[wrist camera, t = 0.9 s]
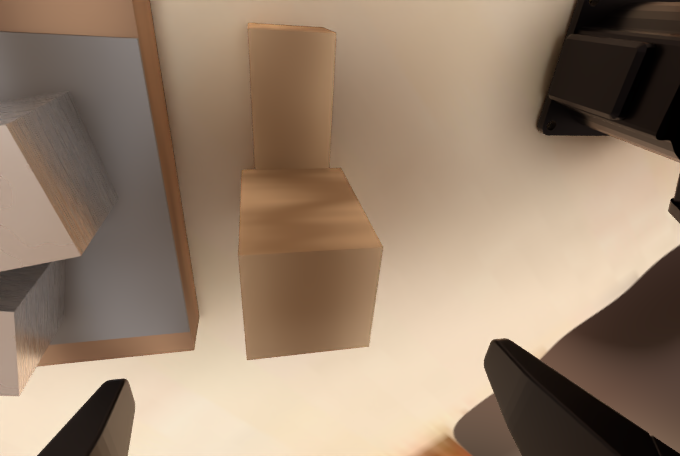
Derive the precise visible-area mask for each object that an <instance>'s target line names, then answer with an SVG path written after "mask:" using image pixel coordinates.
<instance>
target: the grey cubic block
mask: <svg viewBox="0 0 680 456" xmlns="http://www.w3.org/2000/svg"><path fill="white" fill-rule="evenodd" d="M64 298H65V259H63V260H58V261H53V262H48V263H42V264H37V265H32V266H27V267H22V268H16V269H11V270H6V271H1V272H0V396H20V394H21V392H22V391H23V389H24V387H25V386H26V384H27V382H28V380H29V379H30V377H31V375H32V373H33V372H34V370H35V368H36V366H37V365H38V363H39V361H40V359H41V358H42V356H43V354H44V352H45V351H46V349H47V347H48V345H49V344H50V342H51V340H52V338H53V337H54V335H55V333H56V331H57V330H58V328H59V326H60V325H61V323H62V321H63V319H64Z"/></svg>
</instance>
